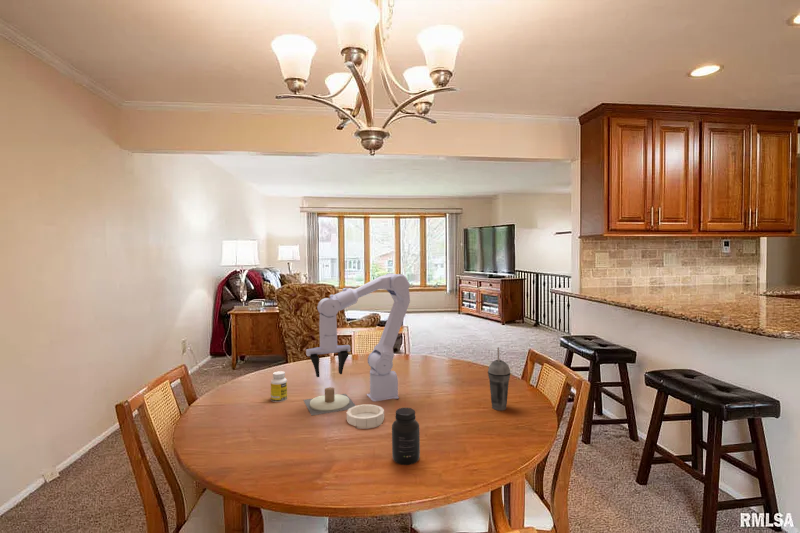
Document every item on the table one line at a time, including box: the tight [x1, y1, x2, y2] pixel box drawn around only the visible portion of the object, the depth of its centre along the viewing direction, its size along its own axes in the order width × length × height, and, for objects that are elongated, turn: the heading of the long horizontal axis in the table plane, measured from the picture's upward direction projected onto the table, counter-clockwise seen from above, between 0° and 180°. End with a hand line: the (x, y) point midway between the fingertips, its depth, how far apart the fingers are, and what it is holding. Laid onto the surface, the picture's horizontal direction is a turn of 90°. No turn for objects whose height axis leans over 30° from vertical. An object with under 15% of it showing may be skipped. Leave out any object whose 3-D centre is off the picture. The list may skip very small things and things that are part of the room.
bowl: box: [346, 403, 385, 430], centre depth 124 cm, size 11×11×3 cm
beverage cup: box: [487, 347, 512, 411], centre depth 133 cm, size 7×7×20 cm
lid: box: [310, 386, 350, 411], centre depth 137 cm, size 13×13×5 cm
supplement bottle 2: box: [391, 407, 421, 466], centre depth 101 cm, size 7×7×12 cm
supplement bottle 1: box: [270, 370, 288, 403], centre depth 142 cm, size 5×5×10 cm
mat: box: [303, 393, 357, 416], centre depth 137 cm, size 15×15×1 cm
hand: (329, 374), depth 137 cm, fingers open, 7 cm apart
